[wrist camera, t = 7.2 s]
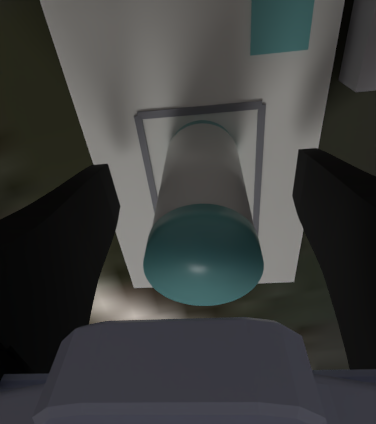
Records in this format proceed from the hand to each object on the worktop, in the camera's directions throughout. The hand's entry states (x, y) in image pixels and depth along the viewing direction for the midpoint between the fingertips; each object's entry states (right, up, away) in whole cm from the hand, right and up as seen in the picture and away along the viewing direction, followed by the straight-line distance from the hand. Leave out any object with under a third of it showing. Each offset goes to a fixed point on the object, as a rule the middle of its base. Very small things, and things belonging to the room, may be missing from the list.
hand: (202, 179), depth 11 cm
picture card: (0, +1, +3) cm, 3 cm away
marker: (0, +1, +2) cm, 2 cm away
